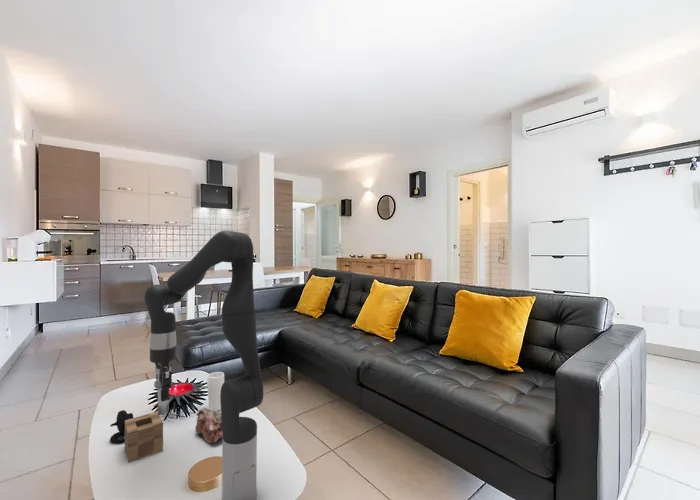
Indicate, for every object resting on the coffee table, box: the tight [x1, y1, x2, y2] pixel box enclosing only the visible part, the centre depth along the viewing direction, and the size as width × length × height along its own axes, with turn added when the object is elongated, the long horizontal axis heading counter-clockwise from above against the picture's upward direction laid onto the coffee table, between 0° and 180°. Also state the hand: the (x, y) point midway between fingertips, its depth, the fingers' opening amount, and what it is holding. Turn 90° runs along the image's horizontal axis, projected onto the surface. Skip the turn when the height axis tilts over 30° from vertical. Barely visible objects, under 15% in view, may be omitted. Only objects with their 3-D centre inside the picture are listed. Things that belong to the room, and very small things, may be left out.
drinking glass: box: [206, 371, 225, 412], centre depth 141 cm, size 7×7×15 cm
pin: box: [153, 378, 173, 416], centre depth 107 cm, size 5×5×10 cm
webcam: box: [109, 410, 134, 445], centre depth 119 cm, size 8×8×10 cm
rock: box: [195, 407, 223, 444], centre depth 122 cm, size 16×11×15 cm
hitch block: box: [124, 411, 164, 463], centre depth 113 cm, size 10×10×10 cm
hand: (163, 397), depth 107 cm, fingers closed on pin, 4 cm apart
